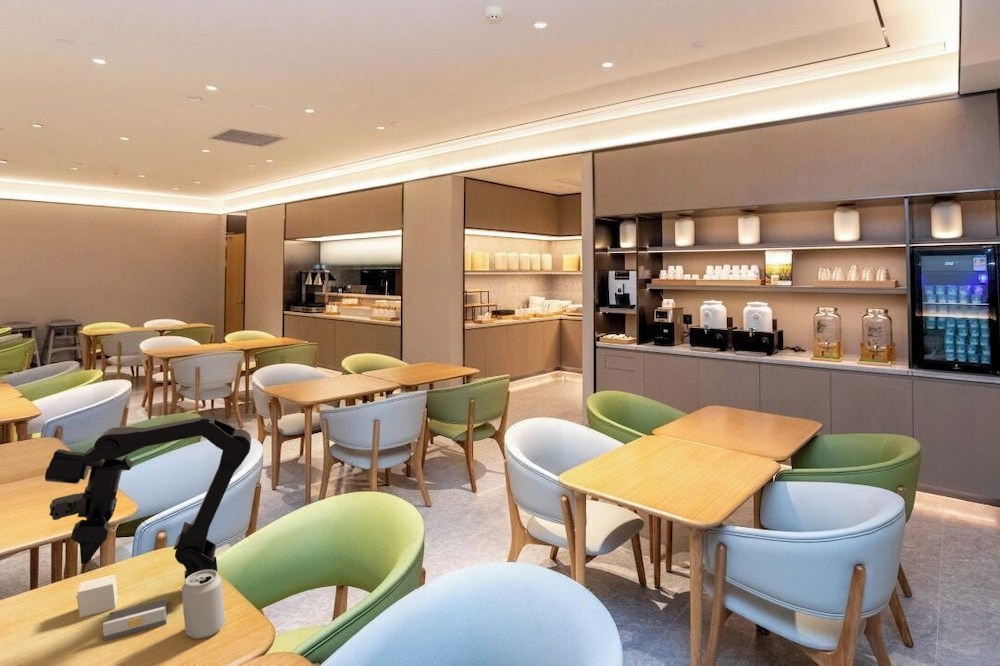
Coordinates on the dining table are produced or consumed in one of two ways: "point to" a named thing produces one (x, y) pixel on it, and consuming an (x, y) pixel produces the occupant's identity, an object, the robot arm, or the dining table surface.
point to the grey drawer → (135, 619)
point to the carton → (97, 595)
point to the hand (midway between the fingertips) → (87, 553)
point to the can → (203, 604)
